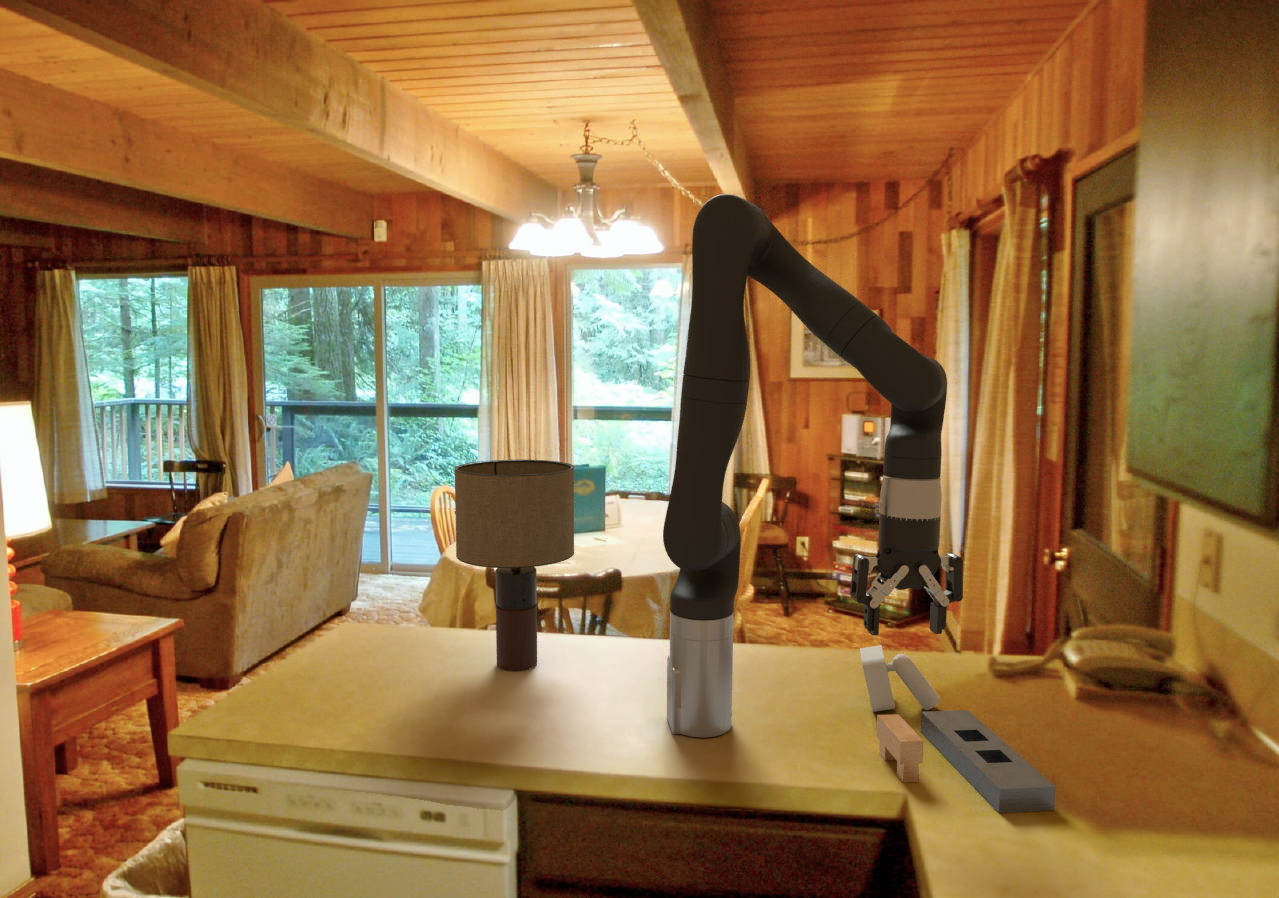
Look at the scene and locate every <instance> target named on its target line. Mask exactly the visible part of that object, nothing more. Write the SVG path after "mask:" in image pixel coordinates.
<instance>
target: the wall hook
mask: <svg viewBox="0 0 1279 898" xmlns="http://www.w3.org/2000/svg"><path fill="white" fill-rule="evenodd" d="M859 652H860V659H861V665H862V669H863V674H864V678H865V684H866V688H867V694H868V697H869V701H870V706H871V709H872V712H873V713H875V712H882V711H887V710H889V711H890V710H896V705H895V701H894V696H893V691H892V687H891V682H890V678H889V677H890V676H889V673H888V672H895V673H896V674H897V675H898V677H899V678H900V679H901V681H902V682H903V683H904V685H905V686H906V688H907V689H908V690H909V692H910V693H911V694H912V696H913V697H914V699H915V700H916V701H917V702H918V704H919V705H920V706H921V708H922V709H923V710H924V711H928V710H931V709H933V708H935V707H936V706H937V705H939V703H940V702H941V697H940V696H939V694H938V693H937V692H936V691H935V689H934V688H933V687H932V685H931V684H930V682H929V681H928V680H927V678H926V677H925V676H924V675H923V673H922V672H921V670H920V669H919V668H918V666H917V665H916V664H915V662H913V660H912V659H911V658H910V657H909V656H908V655H906V654H905V653H898V654H896V655H895V656H894V657H893V658H892V661H891V662H888V663H887V662H886V660H885V656H884V651H883V647H882V645H881V644H880V645H874V646H867V647H861V648H859Z"/></svg>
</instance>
